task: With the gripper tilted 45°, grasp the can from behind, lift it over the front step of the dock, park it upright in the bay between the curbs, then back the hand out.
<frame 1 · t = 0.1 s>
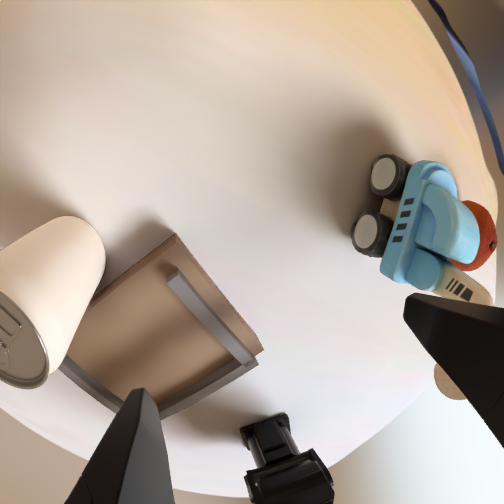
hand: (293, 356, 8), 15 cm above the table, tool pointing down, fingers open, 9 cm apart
dock: (147, 339, 22), on the table
can: (71, 253, 18), on the table
fruit: (446, 229, 29), on the table
toy excavator: (379, 236, 26), on the table
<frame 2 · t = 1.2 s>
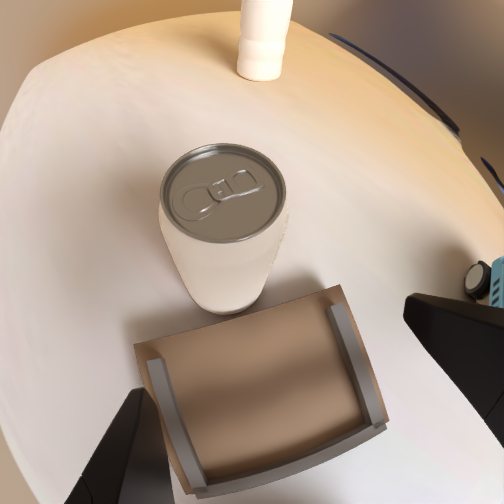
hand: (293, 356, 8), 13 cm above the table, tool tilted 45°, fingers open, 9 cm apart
dock: (263, 393, 19), on the table
can: (224, 278, 23), on the table
water bottle: (258, 74, 37), on the table
toy excavator: (474, 339, 22), on the table
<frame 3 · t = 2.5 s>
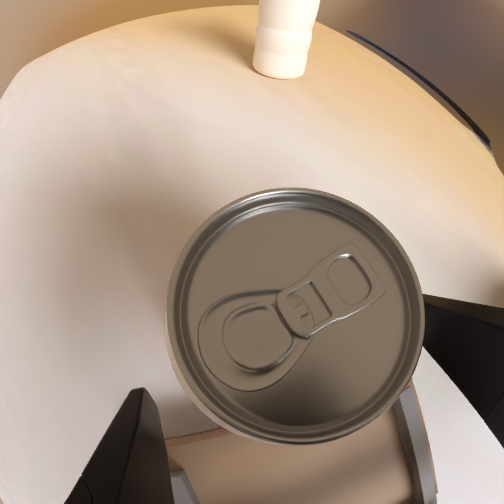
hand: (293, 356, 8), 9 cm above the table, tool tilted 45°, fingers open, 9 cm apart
dock: (305, 485, 12), on the table
can: (255, 353, 16), on the table
water bottle: (277, 71, 31), on the table
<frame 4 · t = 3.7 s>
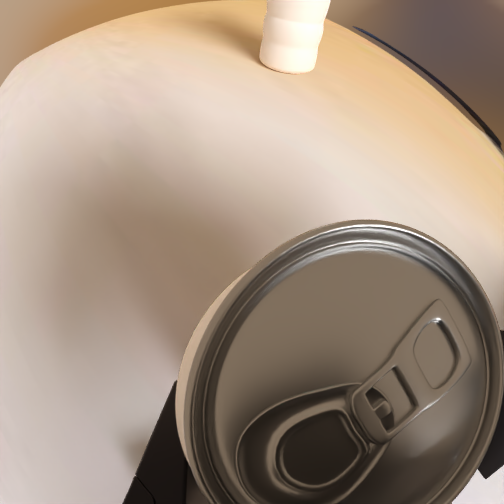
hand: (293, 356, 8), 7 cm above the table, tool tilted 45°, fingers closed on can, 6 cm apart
can: (270, 382, 14), on the table, touching gripper
water bottle: (286, 65, 29), on the table
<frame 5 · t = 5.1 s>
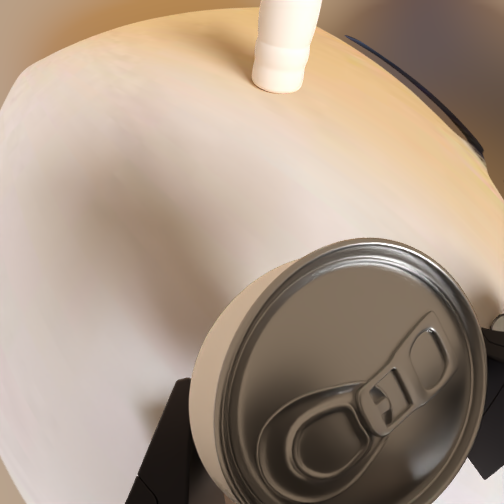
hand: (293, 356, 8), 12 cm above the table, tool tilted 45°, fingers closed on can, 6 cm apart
can: (257, 384, 14), point 4 cm above the table, touching gripper
water bottle: (275, 84, 33), on the table
toy excavator: (493, 387, 18), on the table
when the fingers open (11 cm above the table, at t = 6.6 s): can stays where it is, resting on dock.
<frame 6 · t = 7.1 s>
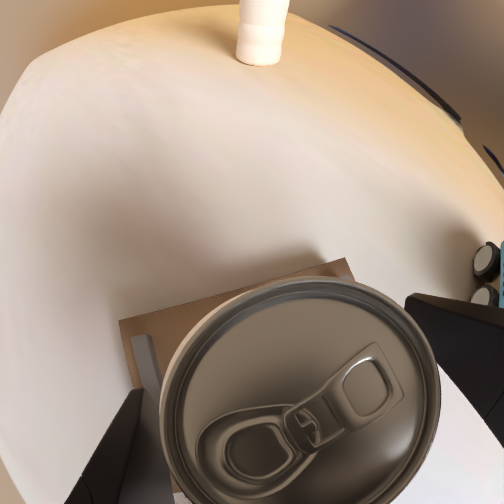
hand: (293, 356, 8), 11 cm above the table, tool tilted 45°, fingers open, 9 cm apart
dock: (262, 379, 17), on the table
can: (256, 387, 15), point 2 cm above the table, touching dock
water bottle: (257, 60, 36), on the table
toy excavator: (485, 325, 20), on the table
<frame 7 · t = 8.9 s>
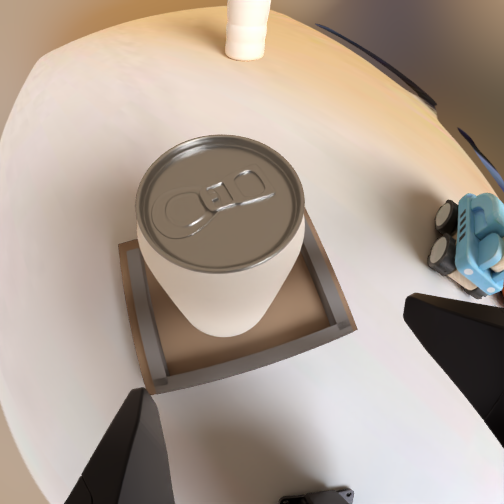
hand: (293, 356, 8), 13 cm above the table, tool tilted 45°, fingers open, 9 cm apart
dock: (231, 297, 22), on the table
can: (223, 294, 20), point 2 cm above the table, touching dock
water bottle: (244, 56, 40), on the table
toy excavator: (450, 277, 25), on the table
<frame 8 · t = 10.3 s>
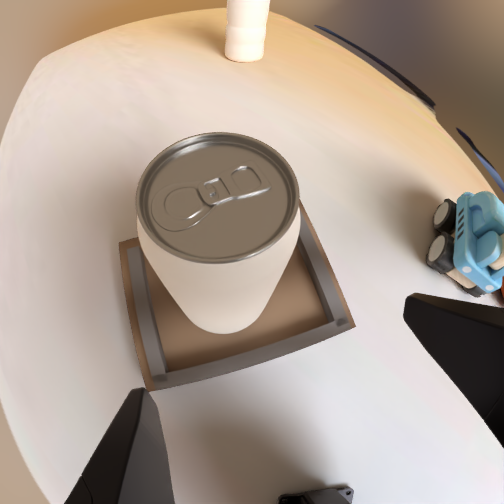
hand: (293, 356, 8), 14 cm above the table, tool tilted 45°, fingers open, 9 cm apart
dock: (230, 295, 22), on the table
can: (222, 291, 20), point 2 cm above the table, touching dock
water bottle: (243, 57, 41), on the table
toy excavator: (449, 275, 25), on the table
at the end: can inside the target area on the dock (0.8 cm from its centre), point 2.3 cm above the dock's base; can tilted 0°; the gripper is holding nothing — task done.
